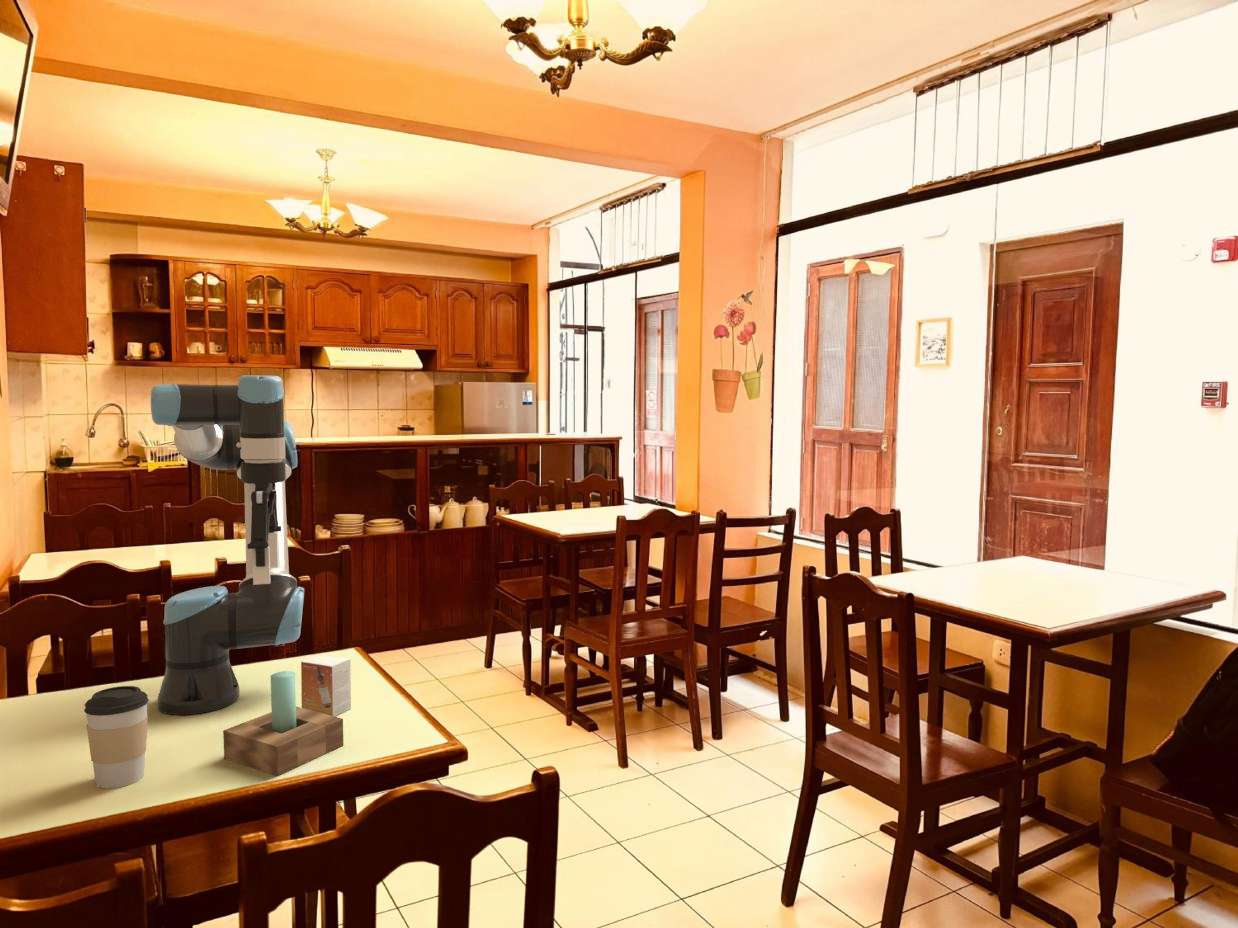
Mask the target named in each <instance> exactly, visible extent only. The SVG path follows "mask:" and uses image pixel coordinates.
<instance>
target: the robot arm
mask: <svg viewBox="0 0 1238 928" xmlns="http://www.w3.org/2000/svg"><path fill="white" fill-rule="evenodd" d="M284 397H285V390H284V383H283V379H282V378H281V377H280V376H279V375H245V374H244V375H242V376H239V378H238V383H237V384H188V383H187V384H181V383H179V384H177V383H172V382H171V384H169V383H167V384H156V385H154V386H152V388H151V391H150V413H151V419H152V422H153V423H154V424H155V425H158V426H167V427H168V426H169V427H172V429H173V431H174V436H173V442H174V446H175V448H176V449H177V451H178V453H179V454H180V455H181V456H182V457H183V458H184V459H186V460H188V461H189V462H191V463H193V464H195V465H198V466H201V467H205V468H207V469H211V470H221V471H236V476H237V477H238V479H240V480H241V482H242V483H244V485H243V486H244V520H245V521H244V524H245V525H244V530H245V532H244V533H245V564H246V565H245V572H246V573H245V578H243V580H242V581H240V583H239V584H238V592H231V593H229V591H228V589H227V587H226V586H224V585H216V586H214V585H211V586H205V587H204V586H203V587H199V588H194V589H190V590H186V591H184V592H179V593H177V594H175V595H173V596H171V597H170V598H169V599H167V601H166V602H165V604H164V617H163V618H164V619H163V625H164V636H165V637H164V638H165V639H164V640H165V643H164V644H165V672H164V676H163V679H162V683H161V686H160V689H159V693H158V694H157V709H158V711H160V712H161V713H164V714H167V715H175V716H176V715H178V716H183V715H184V716H185V715H196V714H202V713H208V712H213V711H216V710H219V709H220V710H221V709H222V708H226V707H228V706H230V705H232V704H234V703H236V702H237V700H239V698H240V684H239V682H238V680H237V677H236V675H235V672H234V670H233V667H232V665H231V663H230V662H231V661H230V650H236V649H247V648H258V647H265V646H266V647H267V646H276V647H277V646H279V645H283V644H289V643H294V642H297V640H298V639H299V638H300V636H301V629H302V618H303V608H304V598H305V588H304V587H302V586H298V581H297V578H296V577H294V576H293V575H291V574H290V570H289V569H290V567H289V544H288V522H287V521H288V520H287V503H286V501H287V499H286V498H287V497H286V480H287V479H288V478H290V476H291V475H292V470H293V469H295V468H297V467H298V453H297V446H296V445H297V444H296V439H295V434H294V431H293V427H292V425H291V424H290V423H289V422H288V421H287V420H285V409H284V408H285V407H284V406H285V405H284V404H285V403H284V400H285V399H284Z"/></svg>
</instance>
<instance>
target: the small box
mask: <svg viewBox="0 0 1238 928" xmlns="http://www.w3.org/2000/svg"><path fill="white" fill-rule="evenodd" d="M351 666H352V665H351V658H348V657H347V658H343V657H337V656H329V655H325V654H317V655H315V656H313V657H310V658H307V659H305V660H302V661H301V662H300V669H301V671H300V675H301V676H300V677H301V680H300V681H301V683H300V684H301V689H300V690H301V693H300V694H301V708H304V709H308V710H312V711H315V712H319V713H323V714H327V715H331V716H334V717H337V716H339V715H341V714H344V713H346V712H347V711H349V710H350V709H352V693H351V692H352V691H351V690H352V689H351V688H352V687H351V686H352V684H351V683H352V682H351V679H352V678H351V675H352V673H351V670H352V668H351Z"/></svg>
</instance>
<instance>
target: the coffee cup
mask: <svg viewBox="0 0 1238 928" xmlns="http://www.w3.org/2000/svg"><path fill="white" fill-rule="evenodd" d="M149 700H150V699H149V698H148V693H147V692H145V691H142V690H141V688H140V687H138V686H133V685H121V686H114V687H113V686H112V687H109V688H104V689H102V690H98V691H96V692H94V693H93V694H92V696H91V698H89V699H88V700H87V701H86V702H85V703H84V707H85V708H84V710H83V711H84V713H85V715H86V731H87V737H88V738H87V739H88V745H89V753H90V759H91V760H90V761H91V762H92V766H93V773H94V774H93V775H94V783H95V786H96V787H98V788H101V789H117V788H118V789H119V788H123V787H127V786H129V785H132V784H135V783H137V782H139V781H140V780H141V779H143V778H144V776H145V761H146V752H147V739H148V717H149V716H148V715H149V714H148V712H147V711H148V703H149V702H150V701H149Z"/></svg>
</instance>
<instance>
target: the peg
mask: <svg viewBox="0 0 1238 928" xmlns="http://www.w3.org/2000/svg"><path fill="white" fill-rule="evenodd" d="M296 694H297V693H296V673H295V672H294V671H290V670H285V671H277V672H275V673H272V674H271V675H270V697H271V698H270V702H271V703H270V704H271V705H270V706H271V712H272V731H274V732H277V733H281V734H282V733H284V732H287V731H289V730H291V729H294V728H296V707H297V702H296V701H297V700H296V699H297V698H296Z"/></svg>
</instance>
